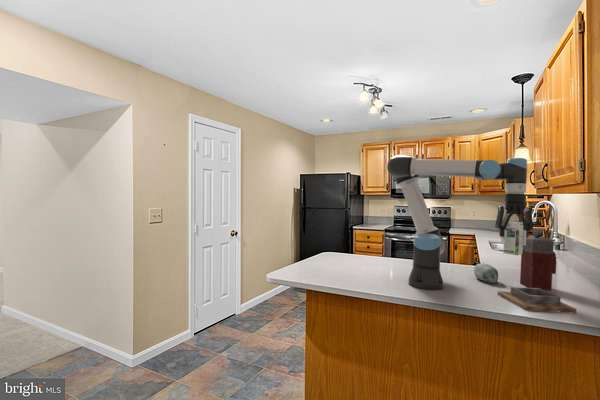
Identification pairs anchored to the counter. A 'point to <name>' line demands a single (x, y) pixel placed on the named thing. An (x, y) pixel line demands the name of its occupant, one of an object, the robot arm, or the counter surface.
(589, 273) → the counter surface
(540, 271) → the toy vending machine
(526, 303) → the board
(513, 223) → the syrup box
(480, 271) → the grey green rock
